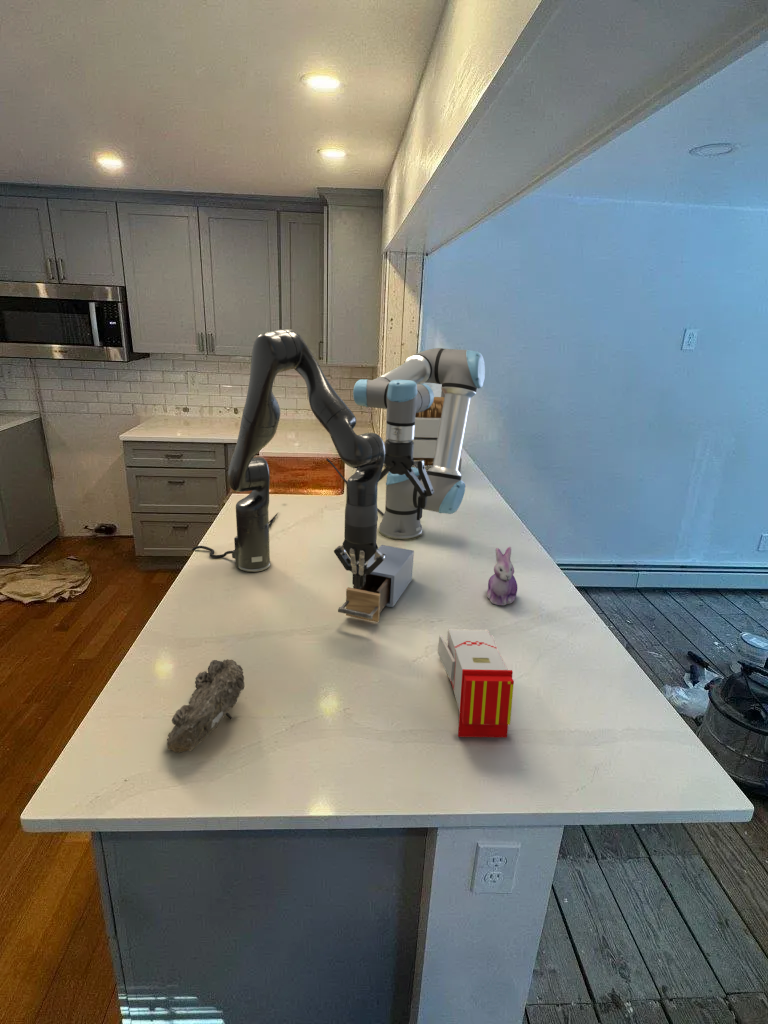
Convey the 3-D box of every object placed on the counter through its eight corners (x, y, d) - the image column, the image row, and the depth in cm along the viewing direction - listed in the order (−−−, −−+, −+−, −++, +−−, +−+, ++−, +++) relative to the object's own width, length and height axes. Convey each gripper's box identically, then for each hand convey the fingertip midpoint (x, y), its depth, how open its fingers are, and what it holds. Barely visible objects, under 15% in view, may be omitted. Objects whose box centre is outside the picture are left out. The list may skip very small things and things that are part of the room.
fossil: (192, 660, 117) (244, 628, 112) (224, 691, 120) (276, 661, 115) (142, 746, 98) (202, 712, 93) (182, 779, 101) (242, 748, 96)
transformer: (382, 463, 289) (386, 382, 275) (445, 464, 293) (451, 384, 279) (390, 482, 257) (394, 392, 243) (460, 483, 261) (468, 394, 247)
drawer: (370, 632, 137) (371, 605, 134) (337, 625, 139) (338, 598, 137) (398, 593, 156) (399, 568, 154) (368, 587, 159) (369, 563, 156)
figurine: (499, 610, 151) (506, 558, 146) (476, 593, 160) (482, 544, 155) (527, 603, 156) (534, 553, 151) (503, 587, 164) (509, 539, 159)
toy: (488, 613, 130) (523, 677, 101) (484, 667, 133) (517, 744, 104) (435, 612, 130) (455, 676, 101) (432, 666, 133) (451, 743, 103)
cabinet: (392, 607, 151) (394, 575, 147) (358, 600, 154) (359, 568, 150) (411, 579, 167) (413, 550, 163) (380, 573, 169) (381, 544, 166)
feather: (285, 507, 224) (287, 503, 224) (267, 531, 198) (270, 526, 197) (281, 504, 224) (284, 500, 223) (263, 528, 197) (265, 524, 197)
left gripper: (328, 520, 129) (327, 588, 135) (382, 529, 125) (379, 599, 131) (341, 510, 136) (339, 575, 142) (393, 519, 132) (389, 585, 138)
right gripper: (350, 437, 151) (349, 512, 158) (442, 448, 144) (435, 526, 151) (361, 432, 158) (359, 504, 165) (448, 442, 150) (442, 517, 157)
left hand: (358, 587), depth 137 cm, fingers closed
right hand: (395, 515), depth 158 cm, fingers open, 13 cm apart
